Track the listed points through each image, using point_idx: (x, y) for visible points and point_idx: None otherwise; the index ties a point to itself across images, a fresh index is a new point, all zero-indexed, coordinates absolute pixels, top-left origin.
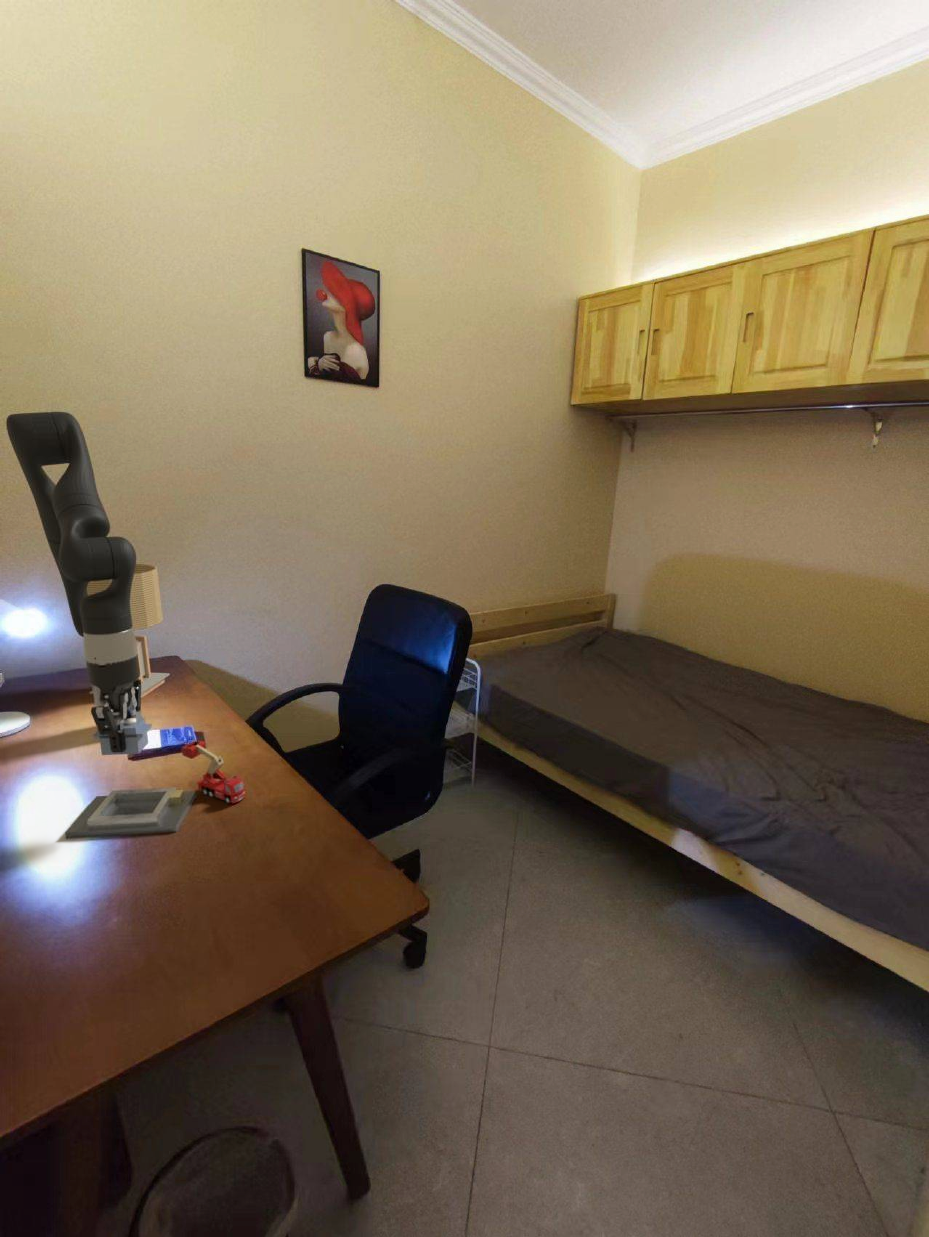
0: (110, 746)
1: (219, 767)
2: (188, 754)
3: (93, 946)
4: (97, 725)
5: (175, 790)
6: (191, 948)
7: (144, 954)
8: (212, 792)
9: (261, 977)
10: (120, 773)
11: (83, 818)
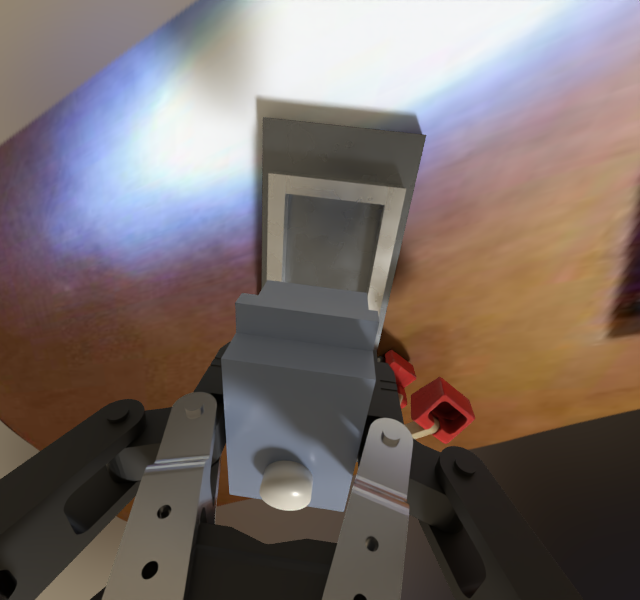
0: None
1: None
2: (420, 397)
3: (20, 274)
4: (16, 475)
5: None
6: (44, 374)
7: (25, 333)
8: None
9: (28, 427)
10: (574, 148)
11: (319, 141)
